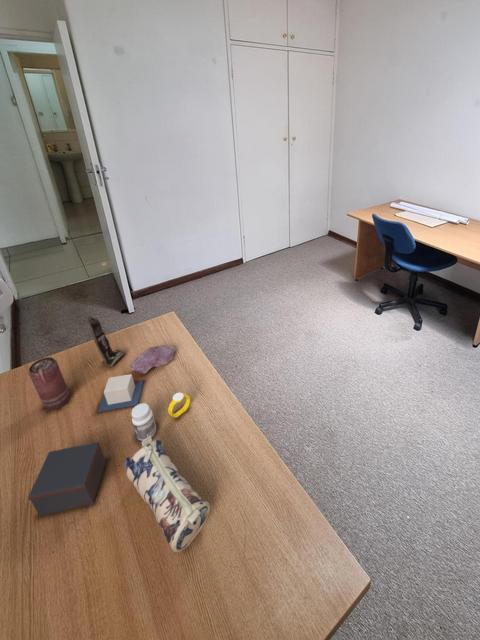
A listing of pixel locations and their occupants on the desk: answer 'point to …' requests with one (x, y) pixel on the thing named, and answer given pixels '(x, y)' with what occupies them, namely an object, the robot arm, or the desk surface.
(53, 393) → the can
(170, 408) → the watch
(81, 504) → the storage box
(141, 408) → the pill bottle
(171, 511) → the pencil case
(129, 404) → the mat
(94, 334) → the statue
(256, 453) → the desk surface
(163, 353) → the fossil
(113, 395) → the small box
